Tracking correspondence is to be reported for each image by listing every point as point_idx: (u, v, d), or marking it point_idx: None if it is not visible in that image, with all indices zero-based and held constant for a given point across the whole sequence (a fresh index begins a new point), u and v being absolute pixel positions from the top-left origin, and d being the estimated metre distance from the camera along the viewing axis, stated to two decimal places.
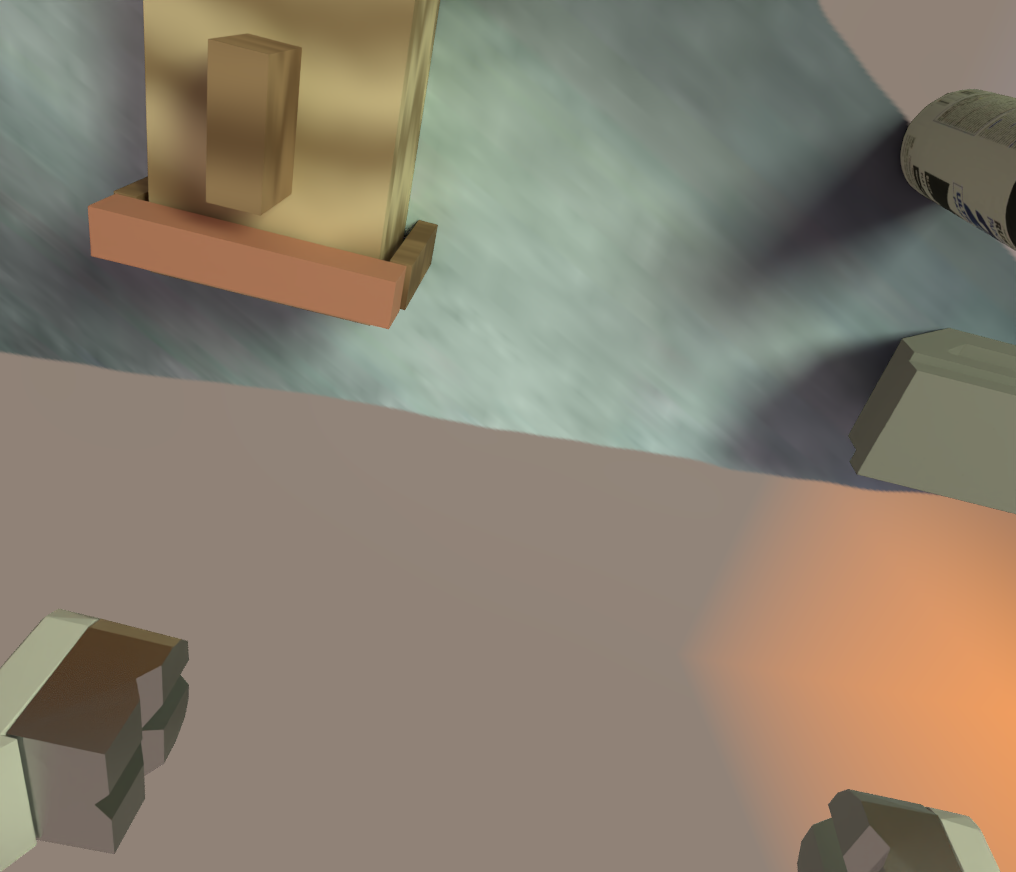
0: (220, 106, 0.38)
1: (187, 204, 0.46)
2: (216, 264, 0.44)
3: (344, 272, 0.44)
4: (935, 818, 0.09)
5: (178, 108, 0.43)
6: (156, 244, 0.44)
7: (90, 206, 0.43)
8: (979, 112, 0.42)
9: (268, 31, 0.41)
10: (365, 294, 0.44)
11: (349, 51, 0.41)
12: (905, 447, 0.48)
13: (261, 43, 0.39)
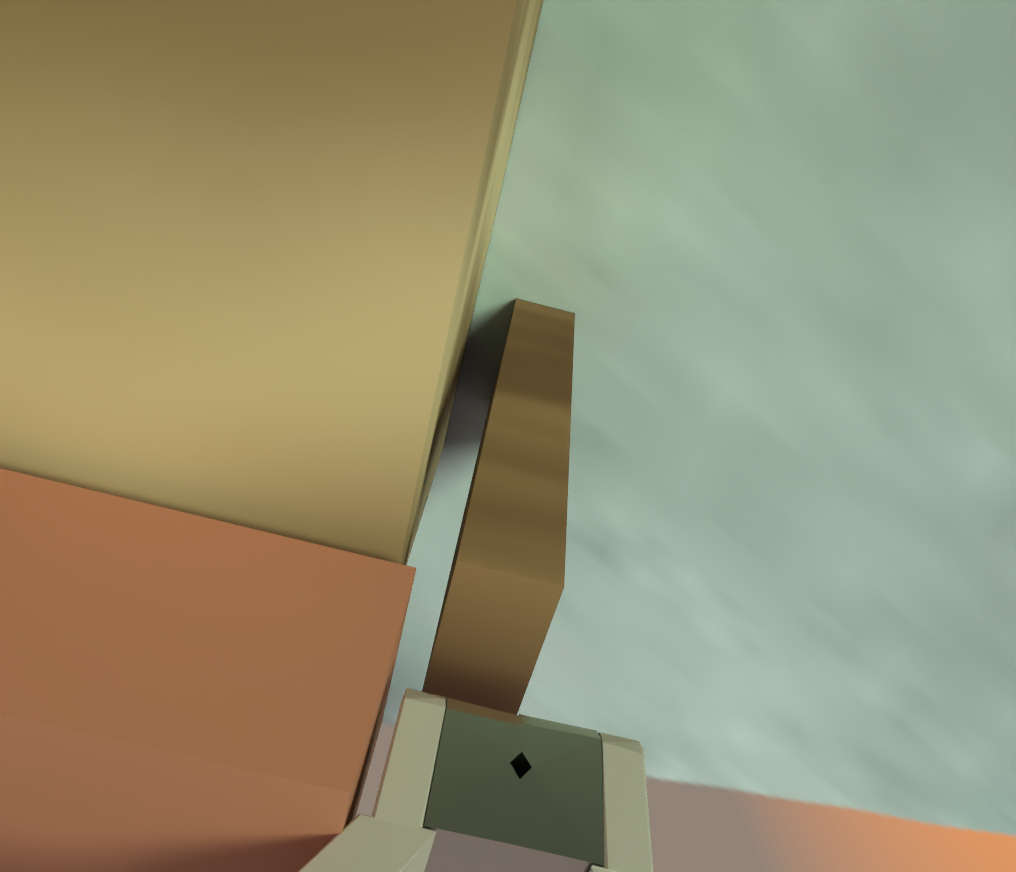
0: None
1: None
2: None
3: (8, 726, 0.07)
4: (597, 741, 0.09)
5: None
6: None
7: None
8: None
9: None
10: (163, 824, 0.07)
11: None
12: None
13: None
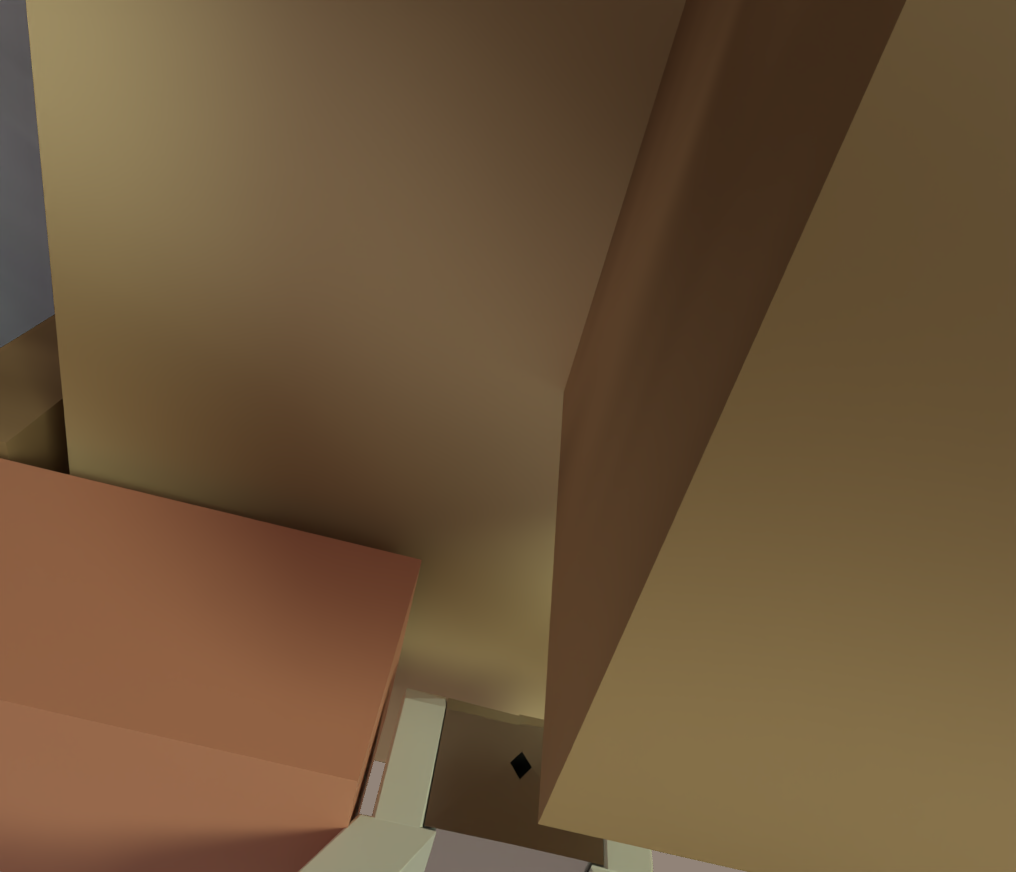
0: None
1: (258, 480, 0.09)
2: None
3: (18, 713, 0.07)
4: None
5: None
6: None
7: None
8: None
9: None
10: (171, 814, 0.07)
11: None
12: None
13: None
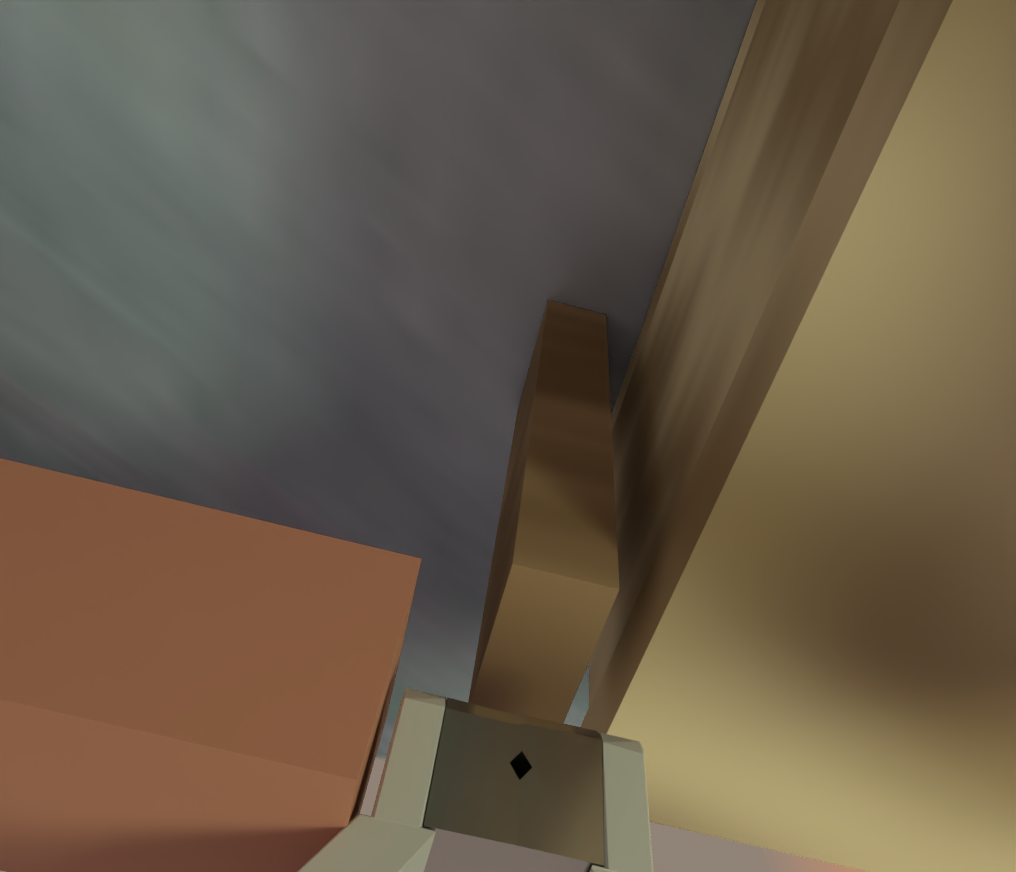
0: None
1: (861, 625, 0.10)
2: None
3: (16, 713, 0.07)
4: (597, 741, 0.09)
5: None
6: None
7: None
8: None
9: None
10: (170, 812, 0.07)
11: None
12: None
13: None
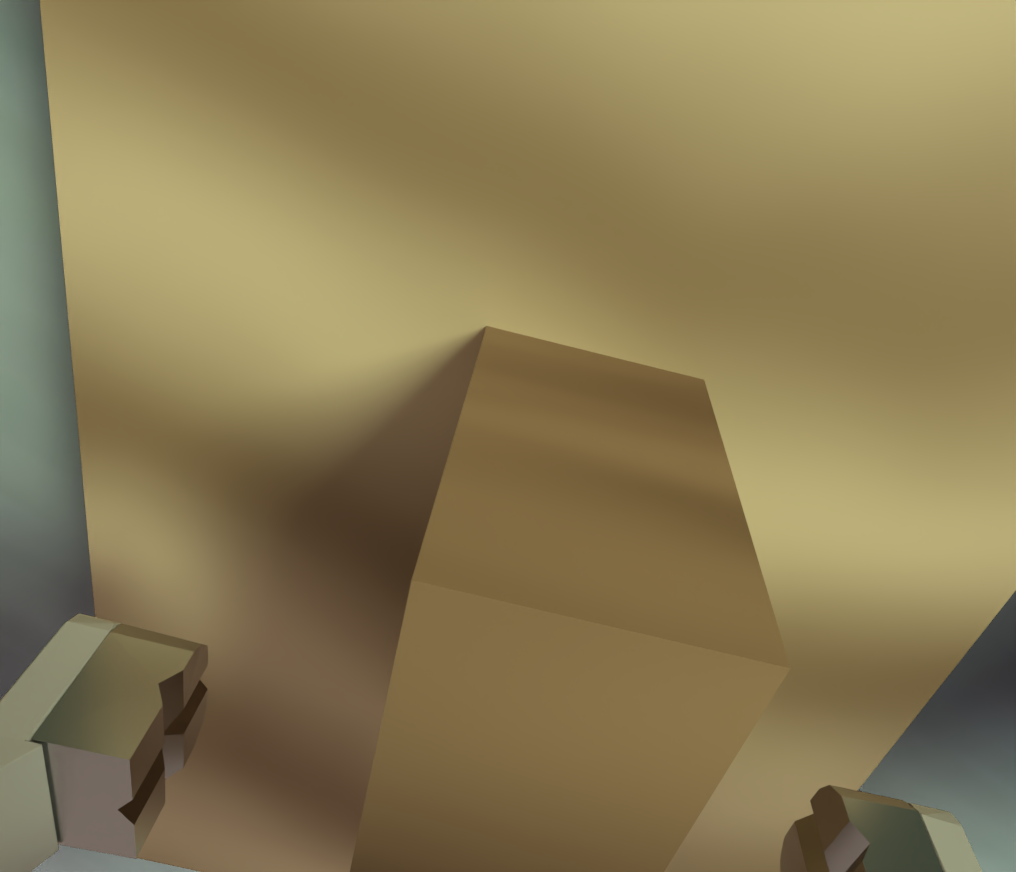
0: (433, 818, 0.07)
1: (222, 746, 0.15)
2: None
3: None
4: (915, 813, 0.09)
5: (199, 533, 0.12)
6: None
7: None
8: None
9: (577, 321, 0.10)
10: None
11: (901, 400, 0.10)
12: None
13: (607, 441, 0.08)
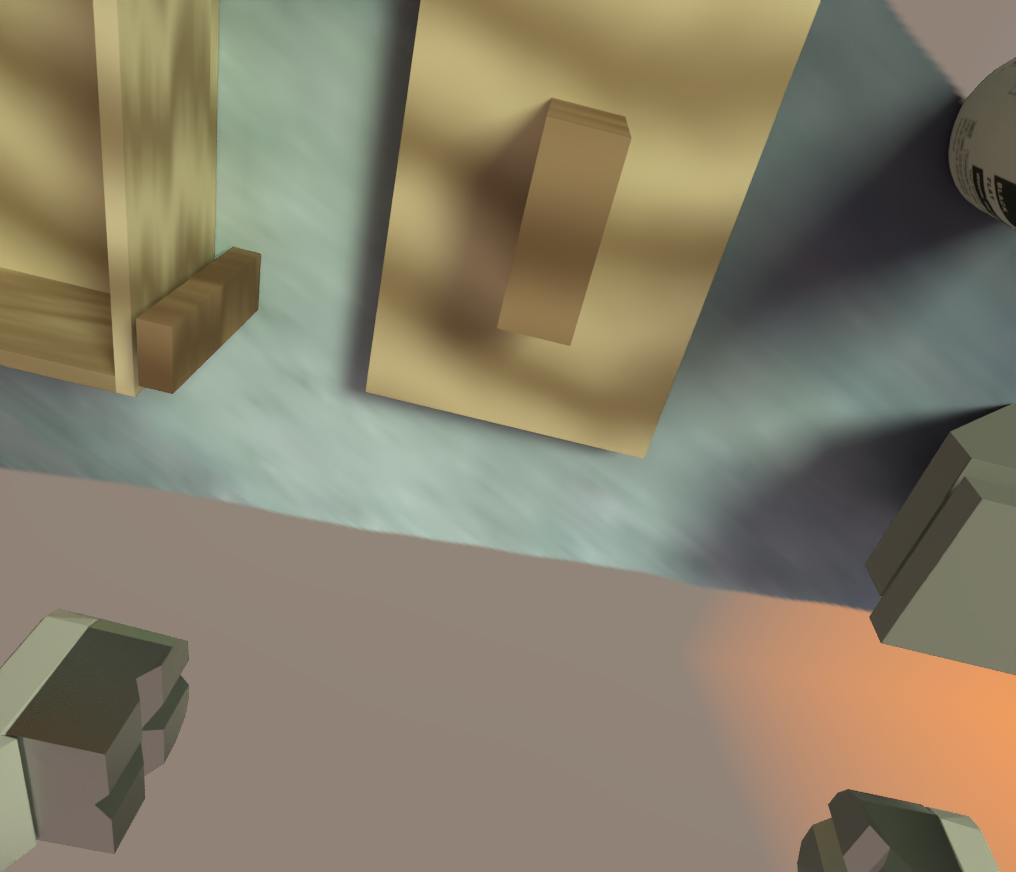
0: (544, 206, 0.27)
1: (428, 312, 0.35)
2: None
3: None
4: (935, 818, 0.09)
5: (437, 193, 0.32)
6: None
7: None
8: None
9: (582, 94, 0.30)
10: None
11: (690, 122, 0.30)
12: (958, 608, 0.31)
13: (591, 115, 0.28)
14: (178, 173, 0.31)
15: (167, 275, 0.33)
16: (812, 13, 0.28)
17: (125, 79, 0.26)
